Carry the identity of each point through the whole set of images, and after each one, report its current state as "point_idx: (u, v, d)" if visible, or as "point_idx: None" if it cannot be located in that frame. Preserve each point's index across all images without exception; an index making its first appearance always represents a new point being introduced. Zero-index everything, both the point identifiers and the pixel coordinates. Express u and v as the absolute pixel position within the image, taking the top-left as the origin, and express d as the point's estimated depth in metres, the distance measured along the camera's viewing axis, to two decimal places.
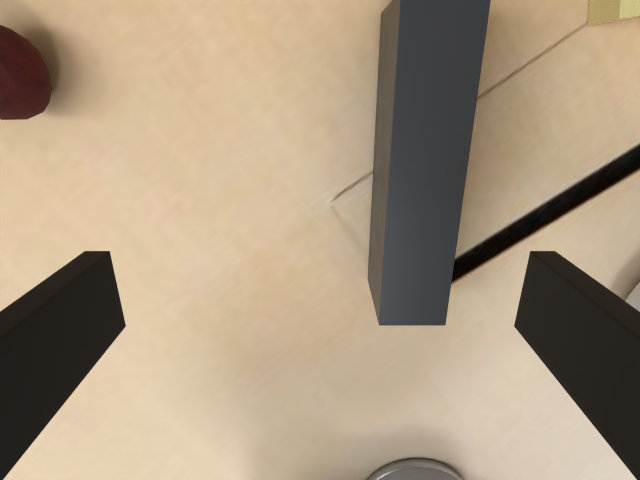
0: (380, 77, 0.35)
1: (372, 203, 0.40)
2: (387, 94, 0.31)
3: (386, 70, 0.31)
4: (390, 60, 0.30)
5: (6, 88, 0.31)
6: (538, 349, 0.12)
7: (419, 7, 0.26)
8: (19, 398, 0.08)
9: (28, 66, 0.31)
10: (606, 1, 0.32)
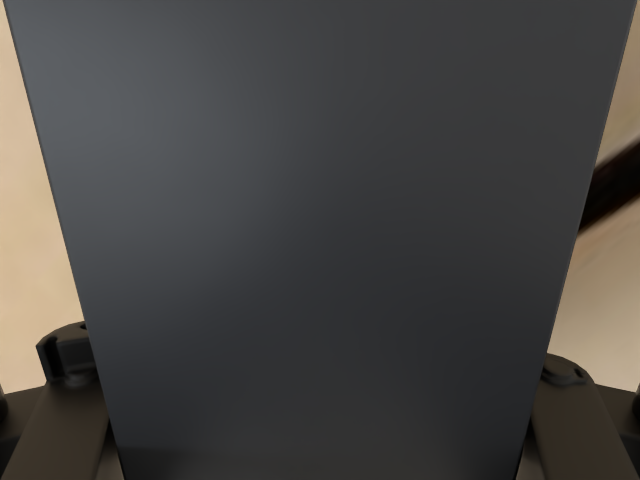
0: None
1: None
2: None
3: None
4: None
5: None
6: None
7: None
8: None
9: None
10: None
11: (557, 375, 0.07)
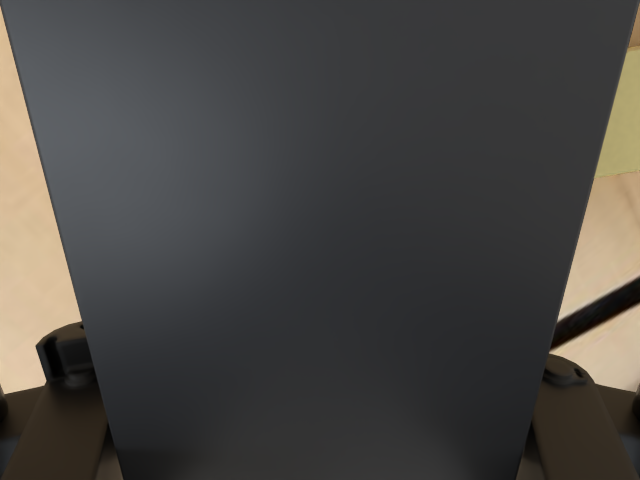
0: None
1: None
2: None
3: None
4: None
5: None
6: None
7: None
8: None
9: None
10: None
11: (557, 375, 0.07)
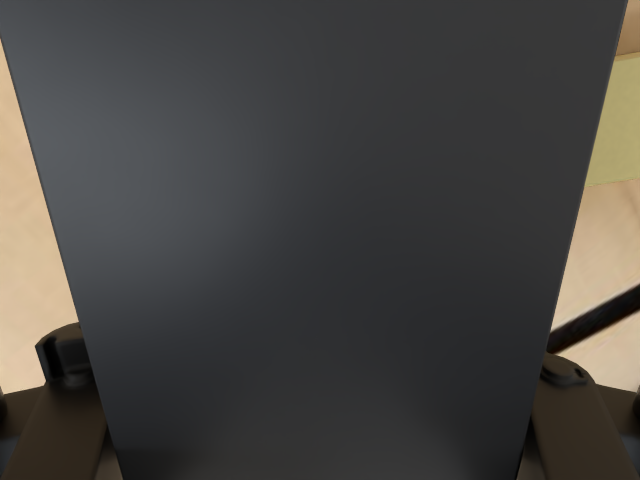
0: None
1: None
2: None
3: None
4: None
5: None
6: None
7: None
8: None
9: None
10: None
11: (558, 375, 0.07)
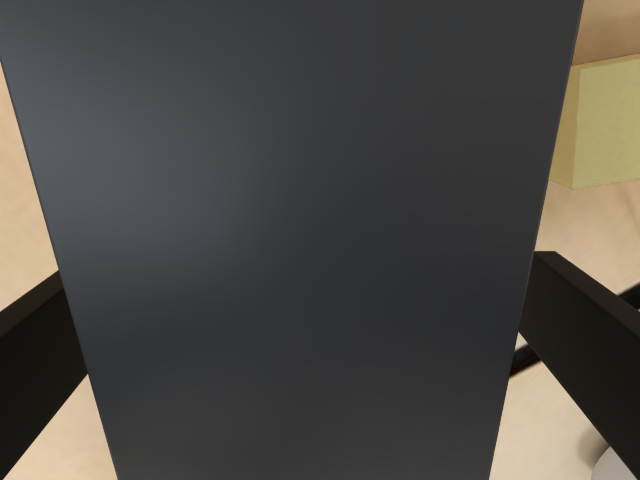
0: None
1: None
2: None
3: None
4: None
5: None
6: (538, 349, 0.12)
7: None
8: (19, 398, 0.08)
9: None
10: (558, 161, 0.25)
11: None
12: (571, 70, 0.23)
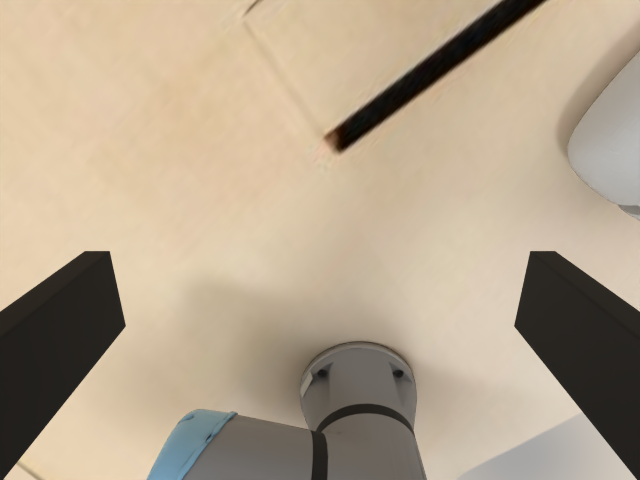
0: None
1: None
2: None
3: None
4: None
5: None
6: (538, 349, 0.12)
7: None
8: (19, 398, 0.08)
9: None
10: None
11: None
12: None
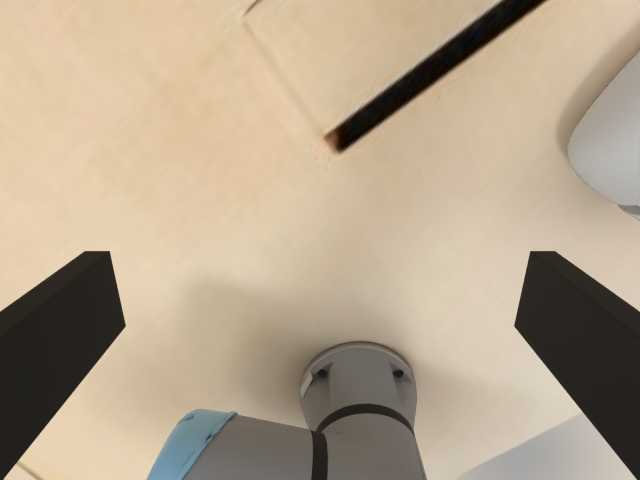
0: None
1: None
2: None
3: None
4: None
5: None
6: (538, 349, 0.12)
7: None
8: (19, 398, 0.08)
9: None
10: None
11: None
12: None
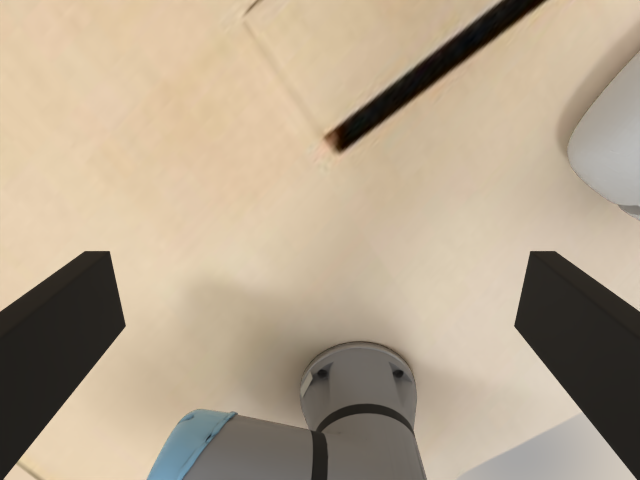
0: None
1: None
2: None
3: None
4: None
5: None
6: (538, 349, 0.12)
7: None
8: (19, 398, 0.08)
9: None
10: None
11: None
12: None
